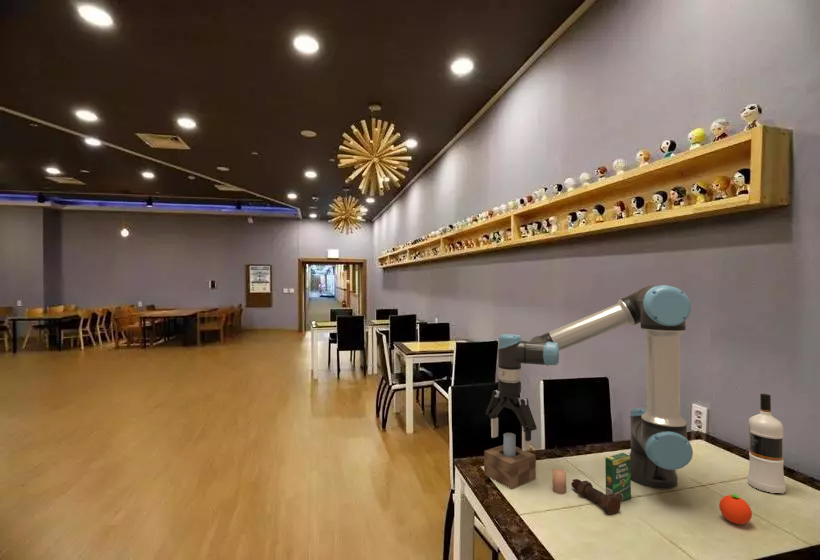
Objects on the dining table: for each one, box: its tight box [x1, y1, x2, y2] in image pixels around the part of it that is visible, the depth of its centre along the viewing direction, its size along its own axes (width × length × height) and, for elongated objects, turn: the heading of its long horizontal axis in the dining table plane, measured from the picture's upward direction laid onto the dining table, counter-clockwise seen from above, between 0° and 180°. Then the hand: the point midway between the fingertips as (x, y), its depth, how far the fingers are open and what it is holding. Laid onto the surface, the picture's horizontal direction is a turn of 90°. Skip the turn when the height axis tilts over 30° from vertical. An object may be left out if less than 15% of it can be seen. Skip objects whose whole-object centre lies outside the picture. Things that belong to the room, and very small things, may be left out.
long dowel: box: [502, 432, 517, 458], centre depth 134 cm, size 4×4×14 cm
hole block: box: [483, 444, 537, 490], centre depth 133 cm, size 12×12×8 cm
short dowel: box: [552, 468, 567, 495], centre depth 124 cm, size 4×4×6 cm
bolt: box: [570, 478, 622, 516], centre depth 119 cm, size 6×5×15 cm
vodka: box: [746, 393, 787, 494], centre depth 127 cm, size 9×9×30 cm
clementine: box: [718, 493, 753, 525], centre depth 108 cm, size 8×7×7 cm
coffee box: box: [604, 452, 632, 503], centre depth 119 cm, size 8×3×13 cm, turn 113°
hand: (509, 443), depth 133 cm, fingers open, 13 cm apart
